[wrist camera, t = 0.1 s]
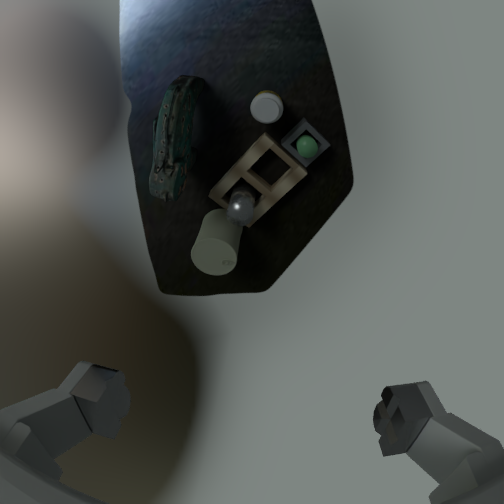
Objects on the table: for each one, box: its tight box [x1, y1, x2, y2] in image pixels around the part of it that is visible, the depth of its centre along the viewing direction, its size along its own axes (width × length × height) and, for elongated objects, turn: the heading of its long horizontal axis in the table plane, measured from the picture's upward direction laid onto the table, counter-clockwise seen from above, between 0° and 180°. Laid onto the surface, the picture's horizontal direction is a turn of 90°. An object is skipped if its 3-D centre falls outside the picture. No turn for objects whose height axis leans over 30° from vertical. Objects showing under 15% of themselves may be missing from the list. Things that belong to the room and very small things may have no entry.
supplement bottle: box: [251, 90, 283, 123], centre depth 45 cm, size 5×5×10 cm
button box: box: [281, 118, 330, 167], centre depth 51 cm, size 6×6×4 cm
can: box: [191, 209, 243, 275], centre depth 61 cm, size 9×9×12 cm
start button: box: [296, 135, 318, 158], centre depth 49 cm, size 4×4×3 cm
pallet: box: [208, 132, 307, 227], centre depth 57 cm, size 17×11×3 cm, turn 139°
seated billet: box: [226, 181, 256, 226], centre depth 56 cm, size 5×5×10 cm
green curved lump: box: [149, 75, 204, 202], centre depth 44 cm, size 20×6×20 cm, turn 170°
